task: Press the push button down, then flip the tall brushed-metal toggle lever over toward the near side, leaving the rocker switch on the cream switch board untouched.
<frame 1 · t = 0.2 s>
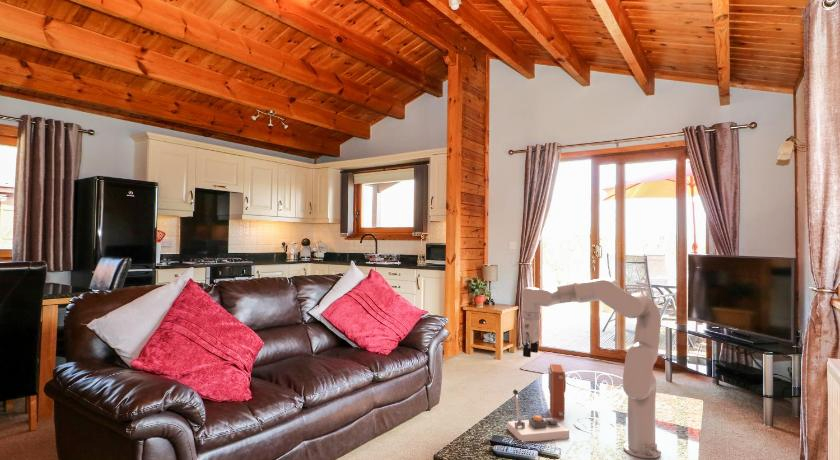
hand: (530, 354, 205), 30 cm above the table, tool pointing down, fingers open, 9 cm apart
toggle lever: (517, 407, 194), point 10 cm above the table, hinge at 20.0°
switch board: (537, 433, 194), on the table
push button: (537, 419, 194), point 6 cm above the table, slide at 0.0 cm
control panel: (556, 414, 216), on the table
rocker switch: (551, 420, 195), point 5 cm above the table, hinge at 10.0°
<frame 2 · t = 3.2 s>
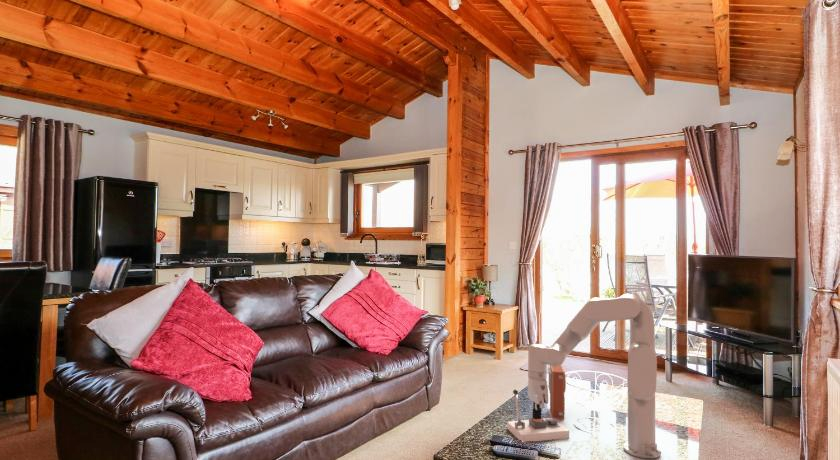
hand: (536, 418, 194), 6 cm above the table, tool pointing down, fingers closed
push button: (537, 420, 194), point 5 cm above the table, slide at 0.7 cm, touching gripper
everything else where it was.
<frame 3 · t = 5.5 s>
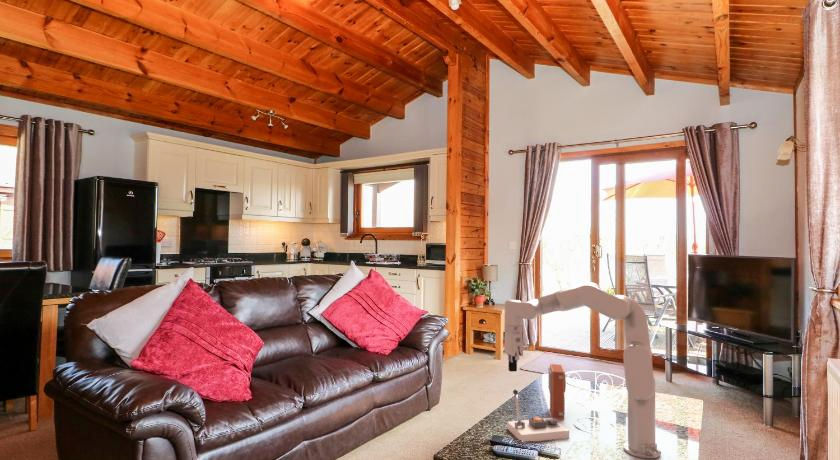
hand: (512, 370, 202), 24 cm above the table, tool pointing down, fingers closed
push button: (537, 421, 194), point 5 cm above the table, slide at 0.8 cm
everything else where it was.
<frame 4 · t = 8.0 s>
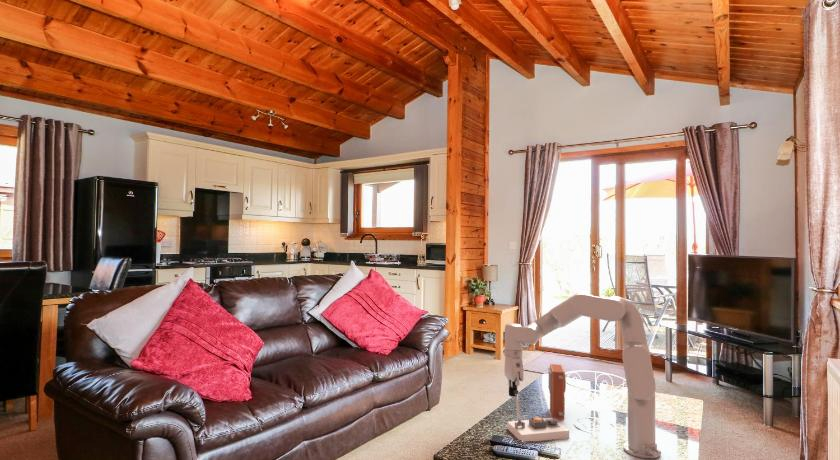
hand: (512, 395, 199), 14 cm above the table, tool pointing down, fingers closed
toggle lever: (517, 407, 194), point 11 cm above the table, hinge at 17.4°, touching gripper
everything else where it was.
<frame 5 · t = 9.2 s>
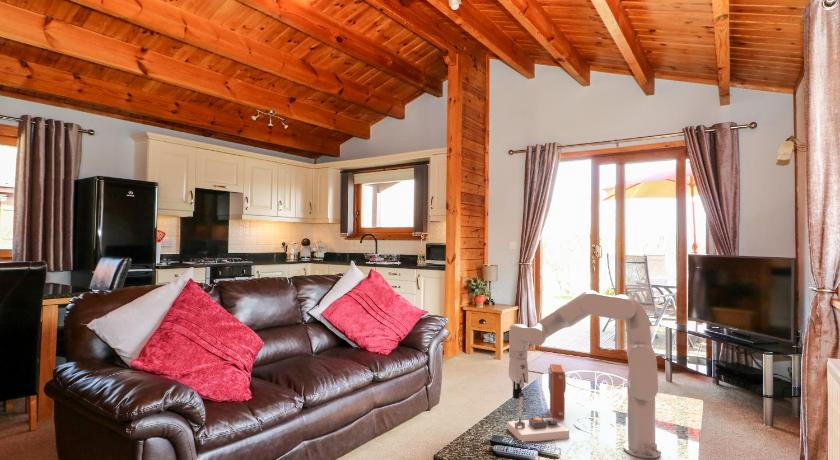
hand: (517, 398, 194), 14 cm above the table, tool pointing down, fingers closed
toggle lever: (520, 408, 192), point 11 cm above the table, hinge at -4.9°, touching gripper
everything else where it was.
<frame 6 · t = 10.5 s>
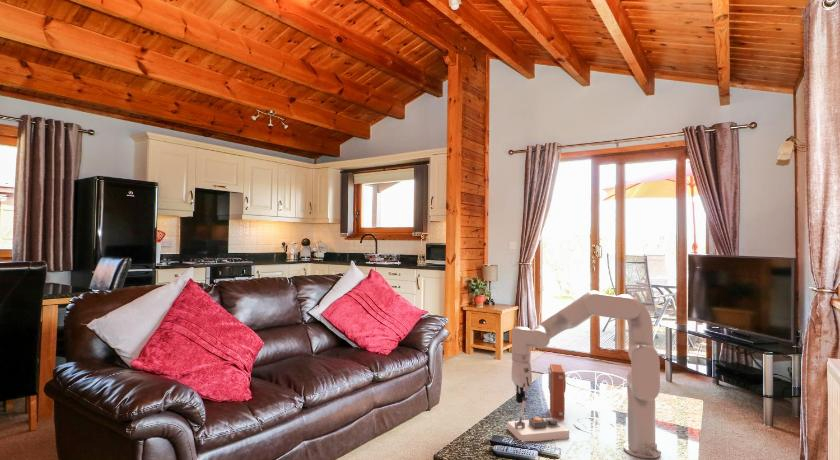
hand: (520, 401, 191), 14 cm above the table, tool pointing down, fingers closed
toggle lever: (522, 411, 190), point 10 cm above the table, hinge at -19.7°, touching gripper
everything else where it was.
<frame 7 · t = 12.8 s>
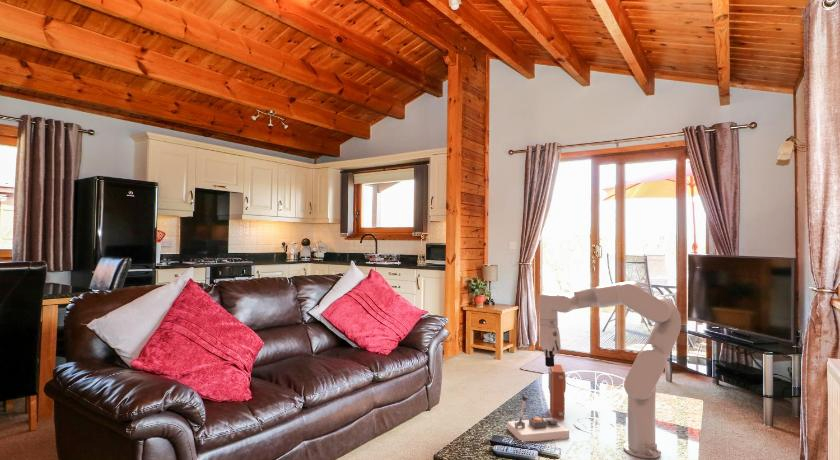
hand: (549, 366, 197), 27 cm above the table, tool pointing down, fingers closed
toggle lever: (522, 411, 190), point 10 cm above the table, hinge at -19.8°
everything else where it was.
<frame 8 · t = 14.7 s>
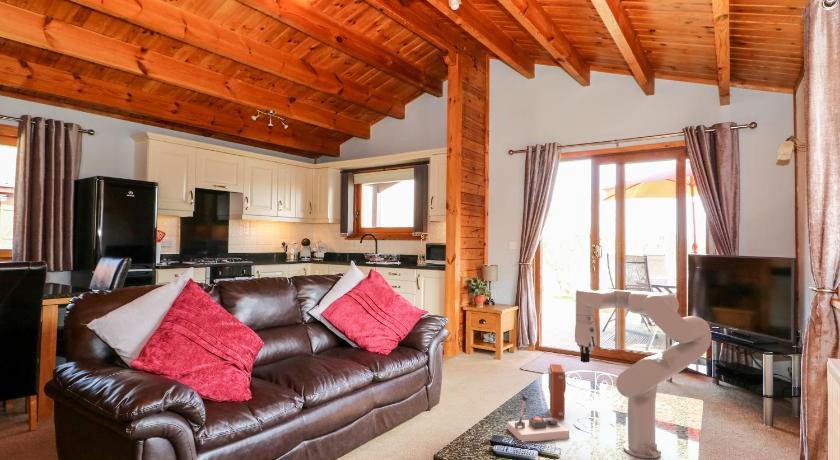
hand: (585, 361, 197), 29 cm above the table, tool pointing down, fingers closed
nothing on the table moved.
at the end: push button slide at 0.8 cm; toggle lever at -20° (first picture: +20°); rocker switch at +10° (first picture: +10°) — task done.
